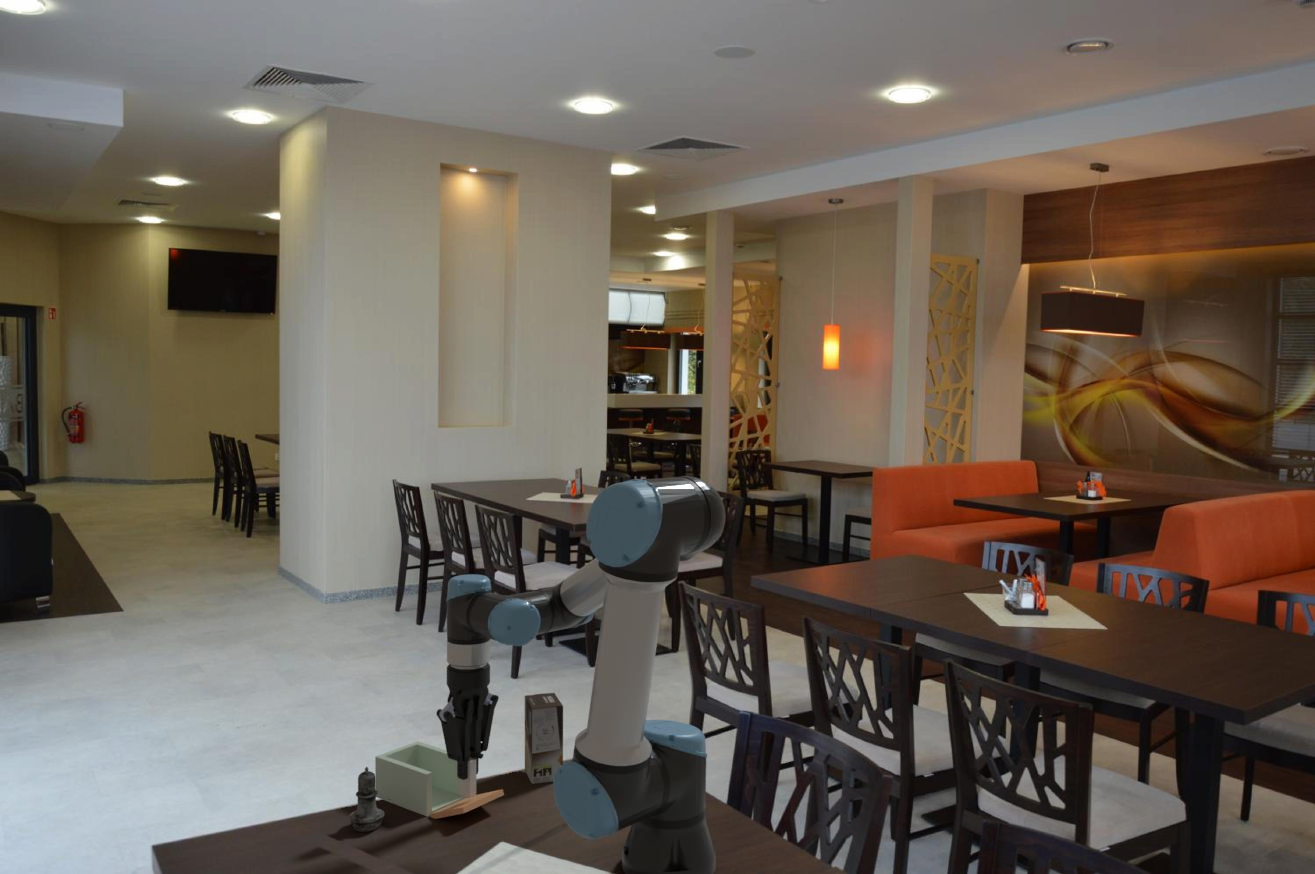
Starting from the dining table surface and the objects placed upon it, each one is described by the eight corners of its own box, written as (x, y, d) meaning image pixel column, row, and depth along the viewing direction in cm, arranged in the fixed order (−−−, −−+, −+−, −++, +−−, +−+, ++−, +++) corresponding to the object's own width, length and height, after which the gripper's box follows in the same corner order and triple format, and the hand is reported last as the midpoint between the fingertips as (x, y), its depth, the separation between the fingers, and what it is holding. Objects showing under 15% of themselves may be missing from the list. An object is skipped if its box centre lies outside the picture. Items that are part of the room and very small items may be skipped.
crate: (468, 805, 183) (468, 757, 183) (426, 824, 175) (426, 774, 175) (417, 787, 191) (417, 741, 191) (375, 804, 183) (375, 756, 183)
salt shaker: (374, 844, 167) (374, 774, 167) (342, 841, 168) (342, 771, 168) (390, 829, 173) (390, 761, 172) (359, 826, 174) (359, 759, 174)
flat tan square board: (471, 801, 182) (504, 794, 177) (431, 819, 175) (464, 813, 170) (469, 796, 183) (502, 789, 178) (429, 813, 175) (462, 807, 170)
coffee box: (564, 787, 192) (564, 705, 191) (531, 791, 190) (531, 708, 189) (554, 770, 201) (554, 691, 200) (523, 773, 199) (523, 694, 198)
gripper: (480, 651, 182) (479, 777, 183) (425, 667, 172) (425, 801, 173) (510, 659, 178) (509, 788, 179) (455, 675, 167) (454, 812, 168)
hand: (467, 794), depth 176 cm, fingers closed
